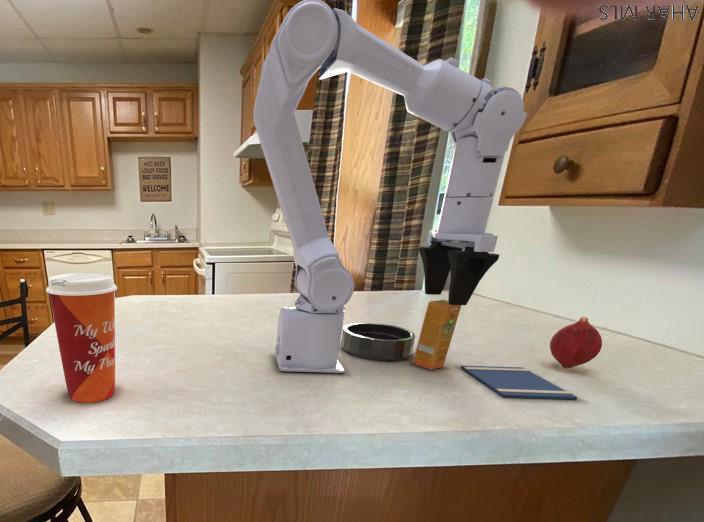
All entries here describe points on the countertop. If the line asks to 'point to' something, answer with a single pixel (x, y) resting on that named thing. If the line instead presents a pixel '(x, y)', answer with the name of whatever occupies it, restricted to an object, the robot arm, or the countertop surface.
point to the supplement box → (436, 334)
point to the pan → (377, 341)
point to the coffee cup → (85, 333)
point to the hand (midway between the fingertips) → (444, 299)
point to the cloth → (517, 383)
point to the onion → (576, 344)
